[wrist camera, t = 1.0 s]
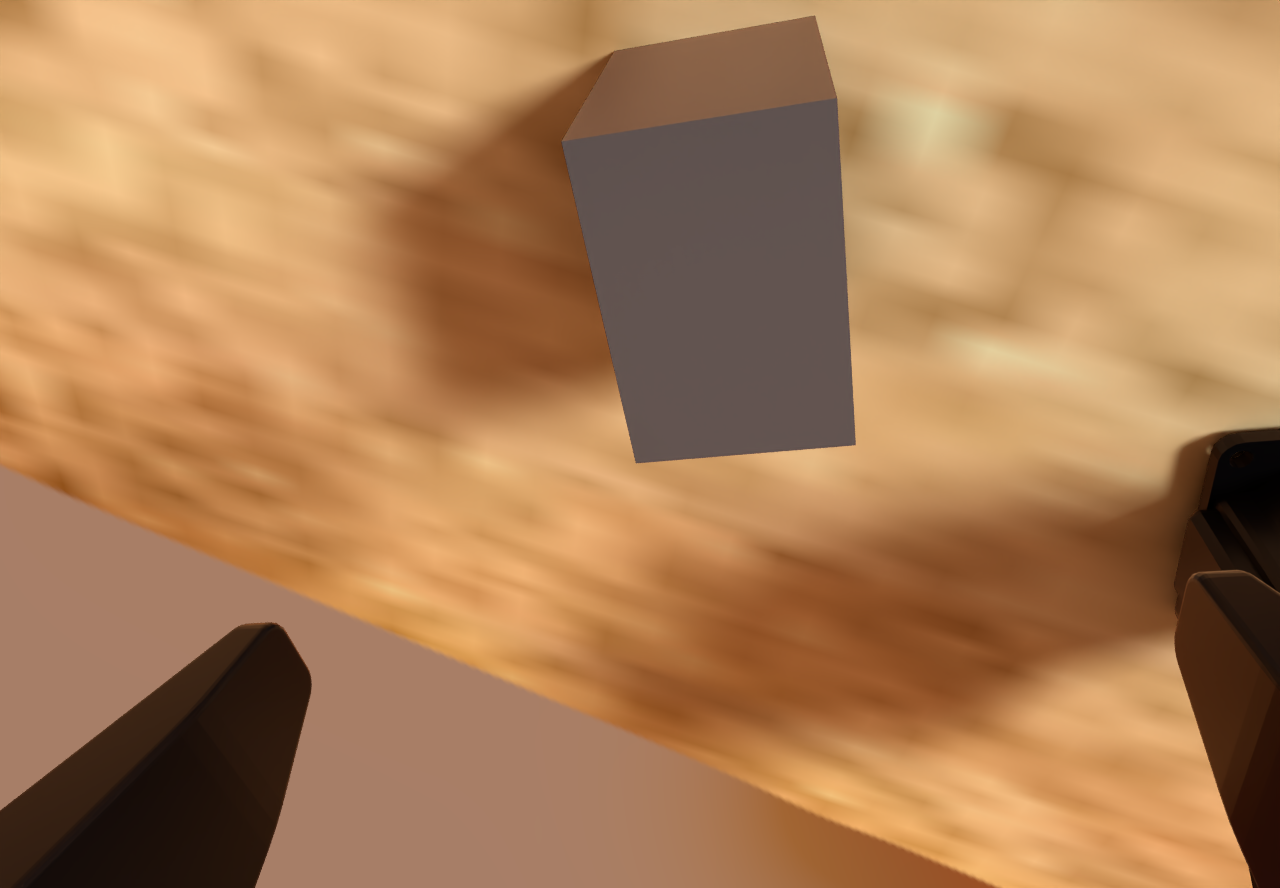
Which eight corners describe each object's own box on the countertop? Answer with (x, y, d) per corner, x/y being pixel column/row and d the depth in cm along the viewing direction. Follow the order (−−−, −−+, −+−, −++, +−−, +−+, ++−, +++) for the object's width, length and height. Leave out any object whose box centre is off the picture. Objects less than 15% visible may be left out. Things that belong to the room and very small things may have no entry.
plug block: (814, 15, 17) (837, 98, 12) (832, 293, 20) (855, 445, 16) (614, 50, 18) (561, 141, 13) (663, 313, 21) (635, 463, 16)
